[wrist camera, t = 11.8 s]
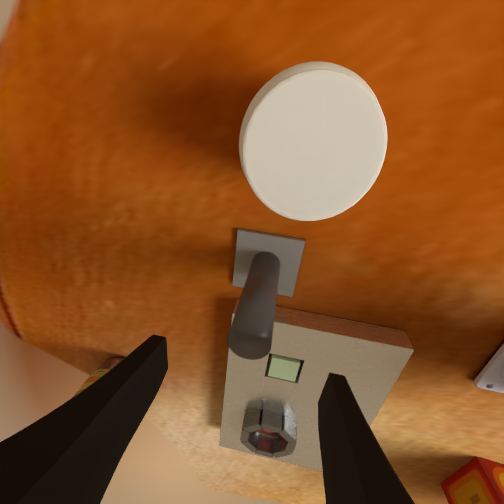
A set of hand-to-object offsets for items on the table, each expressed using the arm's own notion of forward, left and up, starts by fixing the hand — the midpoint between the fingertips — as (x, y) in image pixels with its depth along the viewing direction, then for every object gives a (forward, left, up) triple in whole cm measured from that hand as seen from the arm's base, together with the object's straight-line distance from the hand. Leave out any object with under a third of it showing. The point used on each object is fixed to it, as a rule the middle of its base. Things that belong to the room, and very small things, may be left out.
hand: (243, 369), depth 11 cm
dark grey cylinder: (0, 0, -10) cm, 10 cm away
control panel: (-5, +14, -10) cm, 18 cm away
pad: (-3, +9, -10) cm, 13 cm away
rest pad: (0, 0, -10) cm, 10 cm away
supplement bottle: (-1, -9, -10) cm, 14 cm away
